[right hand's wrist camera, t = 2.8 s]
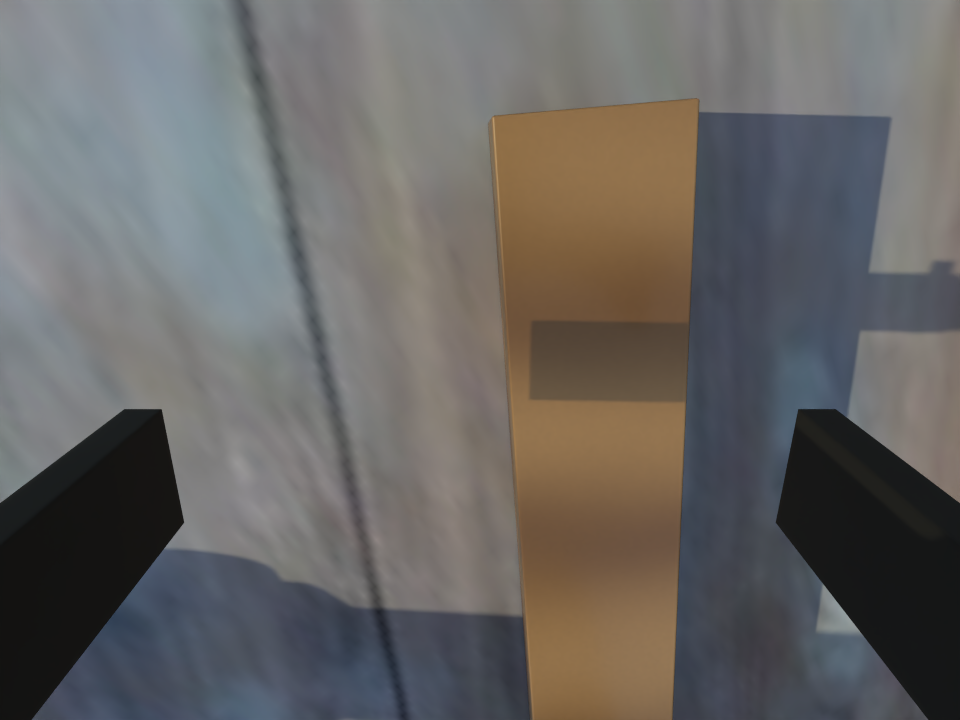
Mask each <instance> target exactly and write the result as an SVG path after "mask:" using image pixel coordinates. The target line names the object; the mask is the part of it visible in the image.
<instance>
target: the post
mask: <svg viewBox="0 0 960 720" xmlns="http://www.w3.org/2000/svg"><path fill="white" fill-rule="evenodd" d="M698 120H699V99H697V98H694V99H682V100H671V101H659V102H647V103H636V104H624V105H613V106H601V107H589V108H578V109H566V110H555V111H543V112H531V113H520V114H508V115H497V116H493V117H492V118H491V120H490V121H489V123H488V128H489V142H490V156H491V170H492V185H493V199H494V213H495V228H496V242H497V256H498V270H499V285H500V299H501V313H502V328H503V342H504V356H505V370H506V385H507V399H508V413H509V428H510V442H511V456H512V471H513V485H514V499H515V513H516V528H517V542H518V556H519V571H520V585H521V599H522V613H523V628H524V642H525V656H526V671H527V685H528V699H529V713H530V720H672V718H673V695H674V672H675V649H676V626H677V603H678V580H679V557H680V534H681V511H682V488H683V465H684V442H685V419H686V396H687V373H688V350H689V327H690V304H691V281H692V258H693V235H694V212H695V189H696V166H697V143H698Z"/></svg>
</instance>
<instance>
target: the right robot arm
mask: <svg viewBox="0 0 960 720" xmlns="http://www.w3.org/2000/svg"><path fill="white" fill-rule="evenodd" d="M183 523H184V519H183V514H182V509H181V504H180V499H179V494H178V489H177V484H176V479H175V474H174V469H173V464H172V459H171V454H170V449H169V444H168V439H167V434H166V429H165V424H164V419H163V414H162V409H124V410H123V411H122V412H120V413H119V414H118V415H116V416H115V417H114V418H112V419H111V420H110V421H108V422H107V423H106V424H104V425H103V426H102V427H100V428H99V429H98V430H96V431H95V432H94V433H92V434H91V435H90V436H88V437H87V438H86V439H85V440H83V441H82V442H81V443H79V444H78V445H77V446H75V447H74V448H73V449H71V450H70V451H69V452H67V453H66V454H65V455H63V456H62V457H61V458H59V459H58V460H57V461H55V462H54V463H53V464H51V465H50V466H49V467H47V468H46V469H45V470H44V471H42V472H41V473H40V474H38V475H37V476H36V477H34V478H33V479H32V480H30V481H29V482H28V483H26V484H25V485H24V486H22V487H21V488H20V489H18V490H17V491H16V492H14V493H13V494H12V495H10V496H9V497H8V498H7V499H5V500H4V501H3V502H1V503H0V720H32V718H33V717H34V716H35V715H36V713H37V712H38V711H39V709H40V708H41V707H42V706H43V704H44V703H45V702H46V700H47V699H48V698H49V697H50V695H51V694H52V693H53V691H54V690H55V689H56V687H57V686H58V685H59V684H60V682H61V681H62V680H63V678H64V677H65V676H66V675H67V673H68V672H69V671H70V669H71V668H72V667H73V665H74V664H75V663H76V662H77V660H78V659H79V658H80V656H81V655H82V654H83V653H84V651H85V650H86V649H87V647H88V646H89V645H90V644H91V642H92V641H93V640H94V638H95V637H96V636H97V634H98V633H99V632H100V631H101V629H102V628H103V627H104V625H105V624H106V623H107V622H108V620H109V619H110V618H111V616H112V615H113V614H114V613H115V611H116V610H117V609H118V607H119V606H120V605H121V603H122V602H123V601H124V600H125V598H126V597H127V596H128V594H129V593H130V592H131V591H132V589H133V588H134V587H135V585H136V584H137V583H138V582H139V580H140V579H141V578H142V576H143V575H144V574H145V572H146V571H147V570H148V569H149V567H150V566H151V565H152V563H153V562H154V561H155V560H156V558H157V557H158V556H159V554H160V553H161V552H162V551H163V549H164V548H165V547H166V545H167V544H168V543H169V541H170V540H171V539H172V538H173V536H174V535H175V534H176V532H177V531H178V530H179V529H180V527H181V526H182V525H183ZM776 523H777V525H778V526H779V527H780V529H781V530H782V531H783V532H784V534H785V535H786V536H787V538H788V539H789V540H790V541H791V543H792V544H793V545H794V547H795V548H796V549H797V551H798V552H799V553H800V554H801V556H802V557H803V558H804V560H805V561H806V562H807V563H808V565H809V566H810V567H811V569H812V570H813V571H814V572H815V574H816V575H817V576H818V578H819V579H820V580H821V582H822V583H823V584H824V585H825V587H826V588H827V589H828V591H829V592H830V593H831V594H832V596H833V597H834V598H835V600H836V601H837V602H838V603H839V605H840V606H841V607H842V609H843V610H844V611H845V613H846V614H847V615H848V616H849V618H850V619H851V620H852V622H853V623H854V624H855V625H856V627H857V628H858V629H859V631H860V632H861V633H862V634H863V636H864V637H865V638H866V640H867V641H868V642H869V644H870V645H871V646H872V647H873V649H874V650H875V651H876V653H877V654H878V655H879V656H880V658H881V659H882V660H883V662H884V663H885V664H886V665H887V667H888V668H889V669H890V671H891V672H892V673H893V675H894V676H895V677H896V678H897V680H898V681H899V682H900V684H901V685H902V686H903V687H904V689H905V690H906V691H907V693H908V694H909V695H910V697H911V698H912V699H913V700H914V702H915V703H916V704H917V706H918V707H919V708H920V709H921V711H922V712H923V713H924V715H925V716H926V717H927V718H928V720H960V503H959V502H957V501H956V500H955V499H953V498H952V497H951V496H950V495H948V494H947V493H946V492H944V491H943V490H942V489H940V488H939V487H938V486H936V485H935V484H934V483H932V482H931V481H930V480H928V479H927V478H926V477H924V476H923V475H922V474H920V473H919V472H918V471H916V470H915V469H914V468H913V467H911V466H910V465H909V464H907V463H906V462H905V461H903V460H902V459H901V458H899V457H898V456H897V455H895V454H894V453H893V452H891V451H890V450H889V449H887V448H886V447H885V446H883V445H882V444H881V443H879V442H878V441H877V440H875V439H874V438H873V437H872V436H870V435H869V434H868V433H866V432H865V431H864V430H862V429H861V428H860V427H858V426H857V425H856V424H854V423H853V422H852V421H850V420H849V419H848V418H846V417H845V416H844V415H842V414H841V413H840V412H838V411H837V410H836V409H798V414H797V419H796V424H795V429H794V434H793V439H792V444H791V449H790V454H789V459H788V464H787V469H786V474H785V479H784V484H783V489H782V494H781V499H780V504H779V509H778V514H777V519H776Z"/></svg>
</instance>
